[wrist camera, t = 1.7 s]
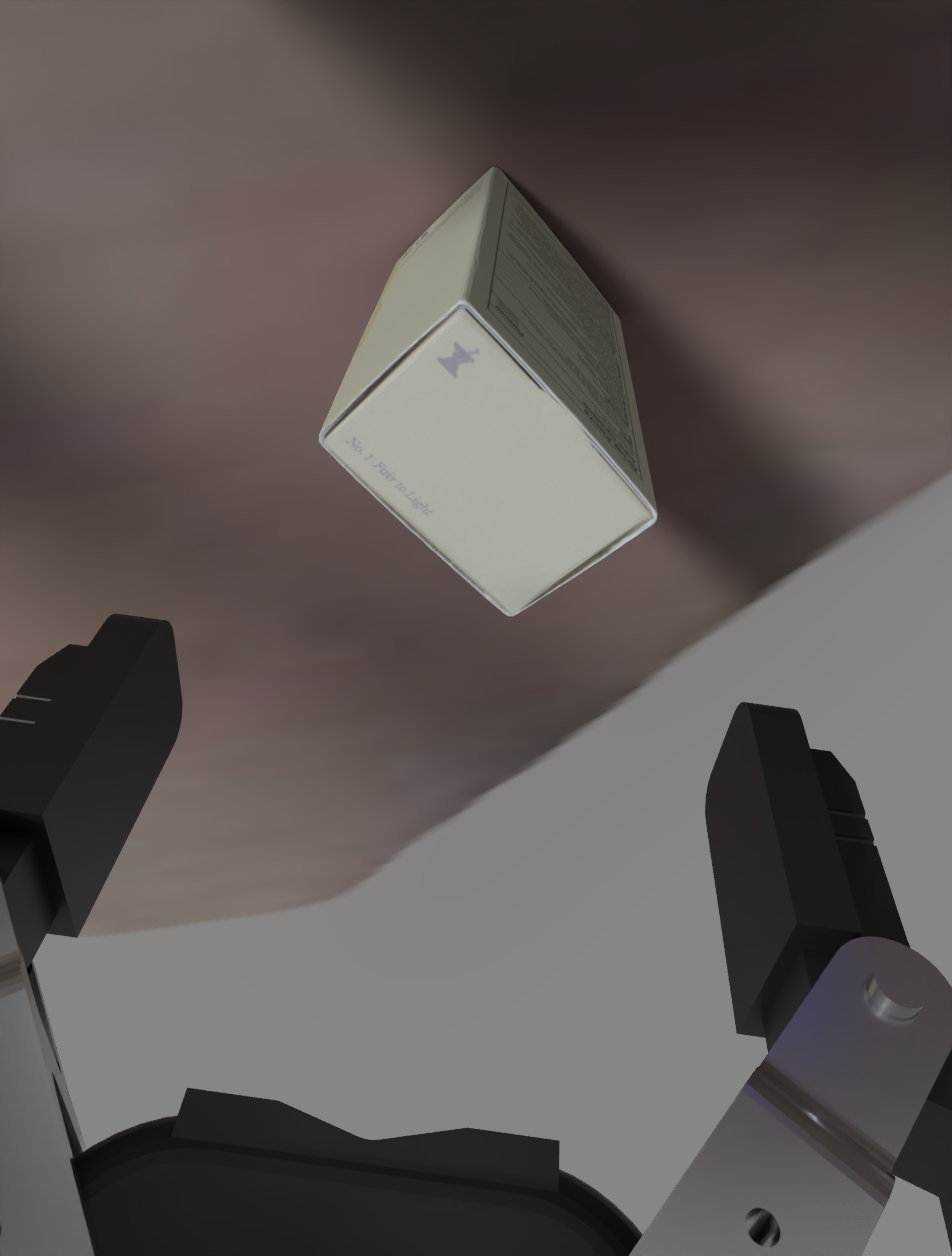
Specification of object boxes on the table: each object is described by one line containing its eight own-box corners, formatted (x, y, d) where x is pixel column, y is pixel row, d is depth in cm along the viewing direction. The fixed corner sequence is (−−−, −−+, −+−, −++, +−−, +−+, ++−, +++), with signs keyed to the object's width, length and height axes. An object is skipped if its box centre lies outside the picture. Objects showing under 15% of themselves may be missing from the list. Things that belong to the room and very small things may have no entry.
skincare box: (392, 262, 28) (296, 434, 18) (500, 155, 26) (457, 285, 16) (526, 409, 30) (504, 629, 21) (634, 322, 28) (666, 521, 19)
